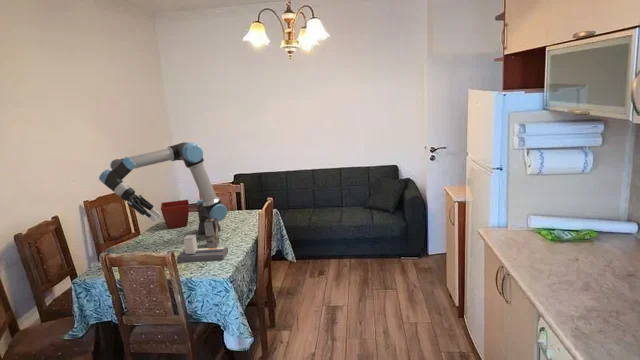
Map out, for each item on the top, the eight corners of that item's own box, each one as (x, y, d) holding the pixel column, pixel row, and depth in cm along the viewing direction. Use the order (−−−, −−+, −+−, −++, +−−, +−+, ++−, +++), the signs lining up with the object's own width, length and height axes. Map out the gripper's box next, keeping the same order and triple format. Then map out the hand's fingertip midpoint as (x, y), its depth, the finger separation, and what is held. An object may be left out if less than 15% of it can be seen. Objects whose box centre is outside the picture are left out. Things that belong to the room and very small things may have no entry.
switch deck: (177, 262, 237) (176, 256, 237) (184, 254, 249) (184, 249, 248) (223, 259, 236) (222, 254, 235) (228, 252, 248) (227, 246, 247)
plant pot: (191, 220, 323) (188, 199, 320) (191, 227, 305) (188, 204, 302) (164, 224, 317) (161, 202, 314) (163, 231, 299) (160, 208, 296)
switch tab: (185, 254, 239) (183, 238, 237) (189, 250, 245) (187, 235, 243) (194, 253, 239) (192, 238, 237) (197, 249, 245) (195, 234, 243)
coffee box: (217, 246, 258) (214, 221, 255) (206, 247, 258) (203, 222, 254) (219, 242, 267) (216, 217, 264) (209, 243, 267) (206, 218, 263)
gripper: (128, 193, 246) (160, 218, 249) (112, 200, 228) (146, 228, 231) (136, 183, 245) (168, 209, 247) (120, 190, 227) (154, 218, 229)
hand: (157, 218), depth 239 cm, fingers open, 5 cm apart
